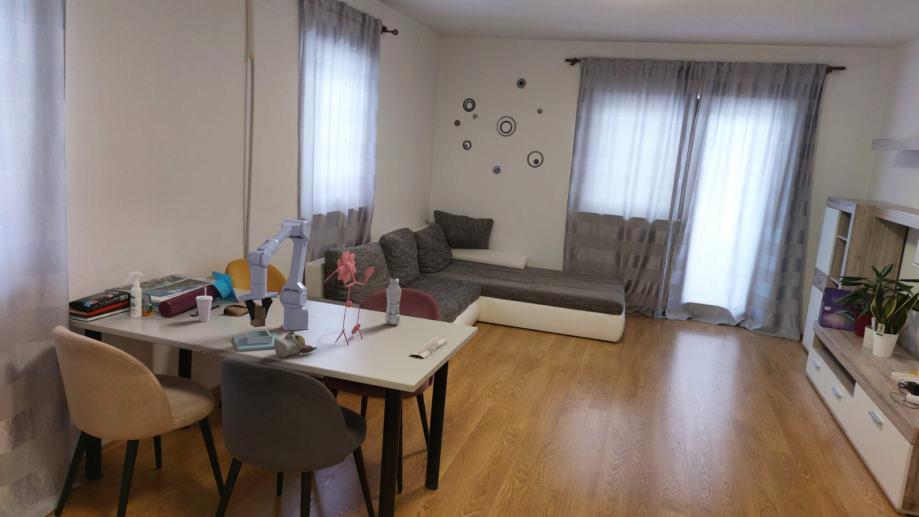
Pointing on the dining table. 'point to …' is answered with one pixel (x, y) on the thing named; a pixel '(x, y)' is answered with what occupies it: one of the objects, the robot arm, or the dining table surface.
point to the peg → (258, 317)
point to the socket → (257, 337)
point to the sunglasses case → (237, 309)
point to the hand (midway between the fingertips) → (258, 318)
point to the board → (243, 346)
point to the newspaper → (429, 347)
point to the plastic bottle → (393, 302)
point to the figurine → (345, 272)
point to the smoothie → (204, 307)
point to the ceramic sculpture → (291, 345)
